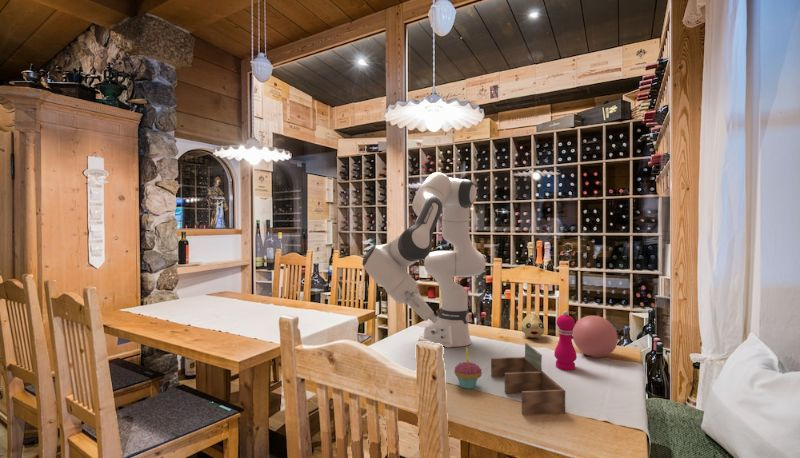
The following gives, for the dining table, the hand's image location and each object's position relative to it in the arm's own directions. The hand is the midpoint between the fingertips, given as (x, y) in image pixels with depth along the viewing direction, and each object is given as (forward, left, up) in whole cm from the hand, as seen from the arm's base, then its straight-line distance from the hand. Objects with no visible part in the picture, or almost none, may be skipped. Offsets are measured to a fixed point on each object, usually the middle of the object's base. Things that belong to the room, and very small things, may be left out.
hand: (435, 320), depth 122 cm
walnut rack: (+25, +9, -21) cm, 34 cm away
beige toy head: (+16, +67, -21) cm, 72 cm away
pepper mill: (+33, +37, -21) cm, 54 cm away
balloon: (+40, +57, -21) cm, 73 cm away
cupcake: (+8, +6, -21) cm, 23 cm away
